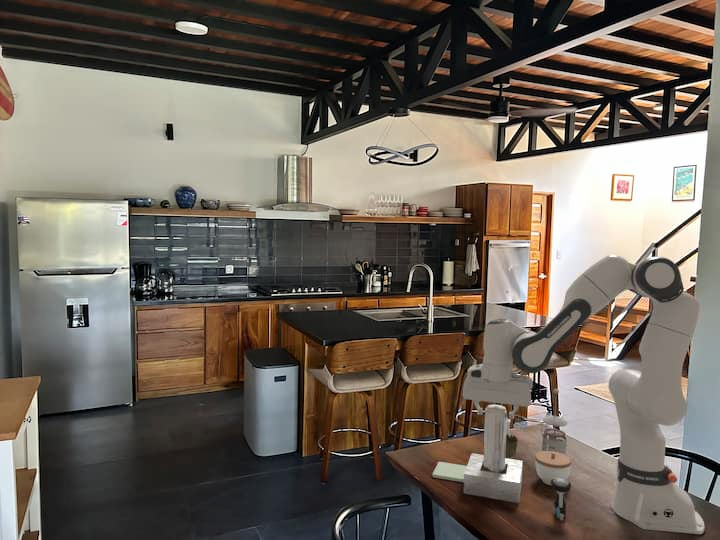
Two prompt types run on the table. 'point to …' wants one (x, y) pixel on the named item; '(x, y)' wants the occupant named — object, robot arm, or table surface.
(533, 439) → the table surface
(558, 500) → the push button
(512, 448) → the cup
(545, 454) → the lidded jar
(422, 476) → the table surface
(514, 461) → the bore block
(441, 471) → the pad
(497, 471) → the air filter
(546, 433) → the french press
